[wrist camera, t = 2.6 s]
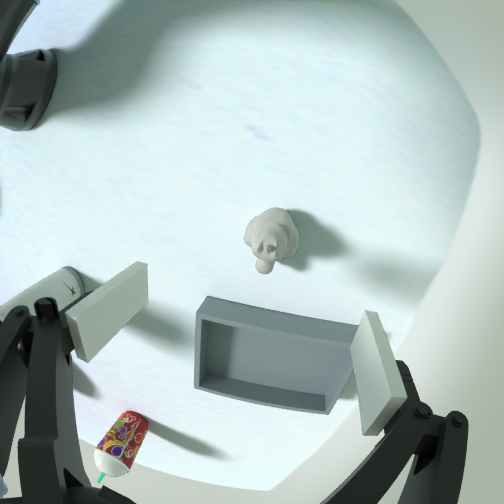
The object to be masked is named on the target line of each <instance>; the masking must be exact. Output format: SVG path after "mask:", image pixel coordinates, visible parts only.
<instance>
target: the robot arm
mask: <svg viewBox="0 0 504 504" xmlns="http://www.w3.org/2000/svg"><path fill="white" fill-rule="evenodd" d="M39 3H40V0H0V126H2V127H4V128H7V129H10V130H12V131H26V130H29V129H31V128H32V127H33V126H34V125H35V124H36V123H37V122H38V121H39V119H40V118H41V116H42V115H43V113H44V111H45V109H46V107H47V105H48V103H49V100H50V98H51V95H52V92H53V88H54V85H55V80H56V73H57V62H56V57H55V55H54V54H53V53H52V52H51V51H48V50H44V49H35V50H30V51H25V52H20V53H16V54H6V53H7V51H8V49H9V47H10V46H11V44H12V42H13V40H14V39H15V37H16V35H17V34H18V32H19V31H20V29H21V27H22V26H23V24H24V23H25V21H26V20H27V19H28V17H29V16H30V14H31V13H32V11H33V10H34V9H35V7H36V6H37V5H39ZM147 303H148V278H147V264H146V263H142V262H138V261H137V262H135V263H134V264H132V265H131V266H129V267H128V268H126V269H125V270H123V271H122V272H121V273H119V274H118V275H116V276H115V277H113V278H112V279H110V280H109V281H108V282H106V283H105V284H103V285H102V286H100V287H99V288H98V289H96V290H95V291H93V290H92V291H89V292H87V293H84V294H83V295H81V296H80V297H79V298H78V299H76V300H74V302H72V303H70V304H69V305H67V306H66V307H65V308H63V309H62V310H61V311H59V310H58V306H57V301H56V300H55V299H54V298H52V297H42V298H40V299H38V300H37V301H35V303H34V304H33V305H34V309H35V313H36V316H33V315H30V311H29V308H28V307H27V306H24V305H18V306H15V307H14V308H12V309H11V310H10V312H9V313H8V314H7V316H6V317H5V319H4V320H3V322H2V323H1V325H0V504H136V503H134V502H133V501H132V500H130V499H129V498H127V497H125V496H123V495H121V494H119V493H117V492H115V491H113V490H111V489H109V488H107V487H106V486H104V485H103V487H102V488H101V489H100V488H95V487H92V486H91V483H90V481H89V479H88V477H87V475H86V473H85V470H84V467H83V463H82V457H81V452H80V446H79V440H78V434H77V427H76V419H75V410H74V398H73V382H72V356H71V353H70V352H71V351H72V350H73V349H75V352H76V355H77V357H78V358H80V359H81V360H83V361H85V362H87V363H88V362H89V361H90V360H91V359H92V358H93V357H94V356H95V355H96V354H97V353H98V352H99V351H100V350H101V349H102V348H103V347H104V346H105V345H106V344H107V343H108V342H109V341H110V340H111V339H112V338H113V337H114V336H115V335H116V334H117V333H118V332H119V331H120V330H121V329H122V328H123V327H124V326H125V325H126V324H127V323H128V322H129V321H130V320H131V319H132V318H133V317H134V316H135V315H136V314H137V313H138V312H139V311H140V310H141V309H142V308H143V307H144V306H145V305H146V304H147ZM18 344H20V346H19V348H18ZM350 350H351V356H352V362H353V368H354V374H355V380H356V387H357V394H358V401H359V407H360V416H361V425H362V434H363V435H364V436H365V435H366V436H368V435H369V436H378V435H379V433H380V432H381V431H382V430H383V429H384V433H385V436H384V437H383V438H382V439H381V440H380V441H379V442H378V444H377V445H376V446H375V448H374V449H373V450H372V451H371V453H370V454H369V455H368V456H367V457H366V458H365V459H364V461H363V462H362V463H361V464H360V465H359V466H358V467H357V468H356V469H355V470H354V471H353V472H352V474H351V475H350V476H349V477H348V478H347V479H346V480H345V481H344V482H343V483H342V484H341V485H340V486H339V487H338V488H336V490H334V492H332V493H331V494H330V495H329V496H328V497H327V498H326V499H325V500H323V501H322V502H321V503H320V504H377V503H378V502H379V501H380V499H381V498H382V497H383V496H384V494H385V493H386V492H387V491H388V489H389V488H390V487H391V485H392V484H393V482H394V481H395V480H396V478H397V477H398V476H399V474H400V472H401V471H402V470H403V468H404V467H405V465H406V464H407V462H408V460H409V459H410V457H411V456H412V454H415V456H414V460H413V463H412V466H411V469H410V472H409V475H408V478H407V480H406V483H405V486H404V489H403V491H402V494H401V496H400V499H399V501H398V504H457V502H458V498H459V493H460V489H461V484H462V479H463V473H464V466H465V458H466V451H467V440H468V420H467V418H466V416H465V415H463V413H461V412H459V411H451V412H450V413H449V414H448V415H447V416H446V417H441V416H438V415H434V414H433V412H432V410H431V408H430V407H429V406H428V405H427V404H425V403H423V402H421V401H420V399H419V396H418V393H417V390H416V387H415V384H414V382H413V379H412V376H411V373H410V371H409V368H408V367H407V365H406V364H405V363H404V362H403V361H400V360H395V358H394V355H393V352H392V350H391V347H390V344H389V342H388V339H387V336H386V334H385V331H384V329H383V326H382V324H381V321H380V319H379V316H378V314H377V312H373V311H367V310H365V312H364V314H363V317H362V320H361V322H360V325H359V327H358V330H357V332H356V335H355V337H354V339H353V342H352V344H351V346H350ZM25 395H26V399H25V400H26V401H25V436H24V438H22V439H19V441H18V464H19V475H20V484H21V491H22V497H15V498H3V495H5V494H7V492H8V488H7V486H6V485H5V484H4V481H3V476H4V474H5V471H6V468H7V465H8V460H9V456H10V451H11V446H12V441H13V437H14V433H15V429H16V425H17V421H18V418H19V414H20V411H21V408H22V404H23V401H24V398H25Z"/></svg>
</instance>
